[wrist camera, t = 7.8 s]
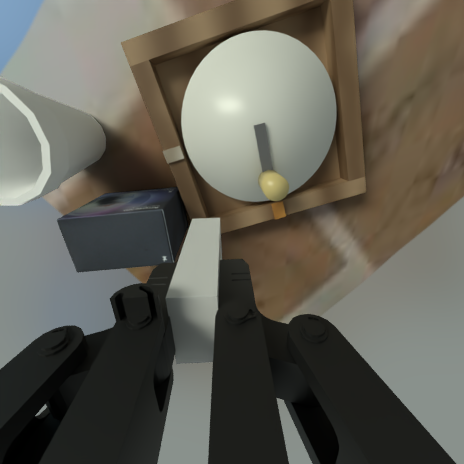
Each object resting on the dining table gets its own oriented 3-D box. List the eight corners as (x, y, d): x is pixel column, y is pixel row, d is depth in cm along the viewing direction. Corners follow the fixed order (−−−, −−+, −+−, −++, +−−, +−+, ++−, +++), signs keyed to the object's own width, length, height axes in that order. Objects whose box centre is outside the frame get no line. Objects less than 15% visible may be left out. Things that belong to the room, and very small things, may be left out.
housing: (333, -20, 24) (352, -46, 21) (352, 185, 33) (368, 192, 30) (133, 53, 26) (119, 41, 23) (200, 230, 35) (198, 241, 31)
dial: (162, 62, 25) (144, 42, 20) (322, 16, 24) (354, -20, 18) (207, 210, 32) (203, 229, 26) (333, 179, 31) (360, 192, 25)
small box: (181, 183, 32) (164, 206, 23) (189, 227, 35) (176, 266, 25) (103, 190, 32) (52, 217, 23) (116, 234, 35) (76, 276, 25)
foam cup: (130, 167, 31) (73, 192, 19) (63, 183, 32) (-33, 218, 20) (98, 84, 27) (2, 50, 15) (22, 103, 28) (-127, 86, 16)
